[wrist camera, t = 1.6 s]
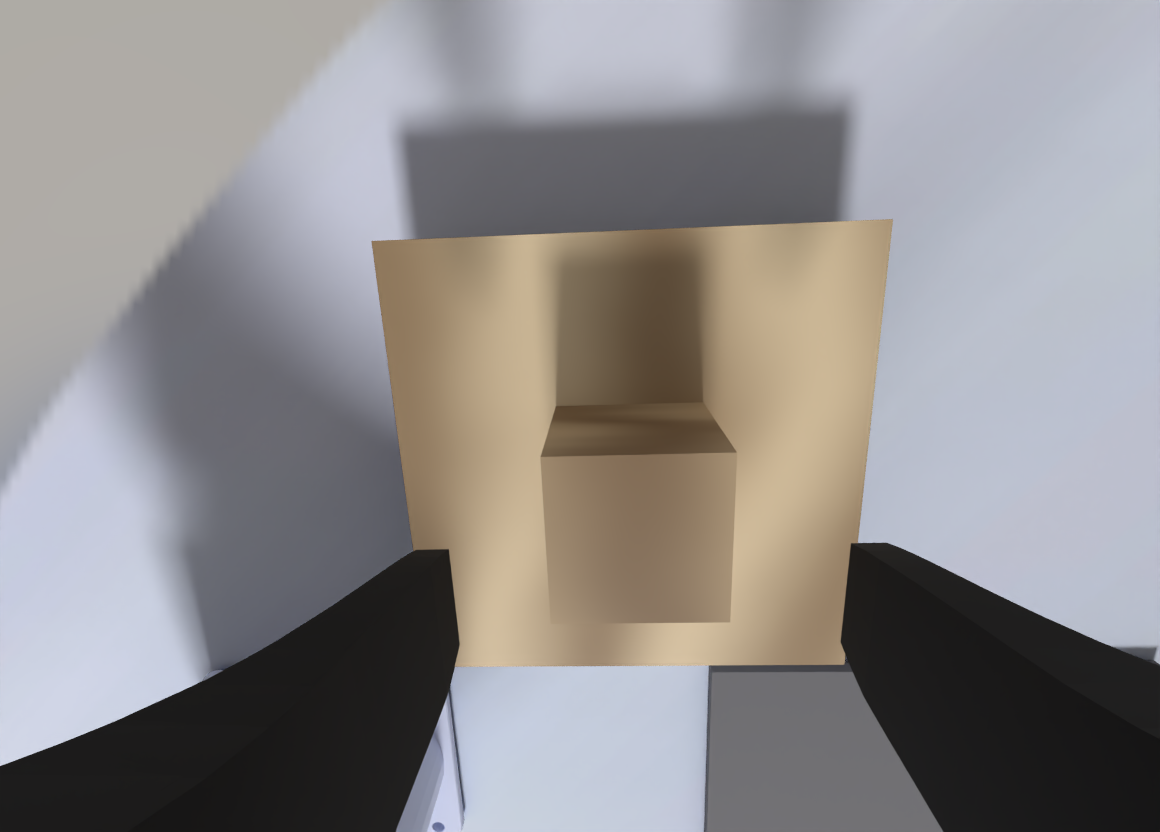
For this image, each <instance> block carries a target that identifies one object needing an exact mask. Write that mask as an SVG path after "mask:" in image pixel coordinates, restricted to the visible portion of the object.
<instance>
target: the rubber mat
mask: <svg viewBox="0 0 1160 832" xmlns="http://www.w3.org/2000/svg"><path fill="white" fill-rule="evenodd" d="M1149 662H1151V663H1154V664H1156V665H1159V664H1158V663H1157V662H1155V661H1149ZM1159 666H1160V665H1159ZM704 832H943V830H942V829H941V827H940V825H939V824H938V822H937V820H936V819H935V817H934V815H933V814H932V812H931V810H930V809H929V807H928V805H927V804H926V802H925V800H924V799H923V797H922V795H921V793H920V792H919V790H918V788H917V787H916V785H915V783H914V782H913V780H912V778H911V777H910V775H909V773H908V772H907V770H906V768H905V767H904V765H903V763H902V761H901V760H900V758H899V756H898V755H897V753H896V751H895V750H894V748H893V746H892V745H891V743H890V741H889V740H888V738H887V736H886V734H885V733H884V731H883V729H882V728H881V726H880V724H879V722H878V721H877V719H876V717H875V716H874V714H873V712H872V710H871V709H870V707H869V705H868V703H867V702H866V700H865V698H864V696H863V694H862V692H861V690H860V687H859V685H858V683H857V681H856V678H855V676H854V674H853V672H852V669H851V667H850V664H849V662H845V663H844V665H709V694H708V727H707V761H706V794H705V828H704Z"/></svg>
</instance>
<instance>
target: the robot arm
mask: <svg viewBox="0 0 1160 832" xmlns="http://www.w3.org/2000/svg"><path fill="white" fill-rule="evenodd" d="M840 642H841V645H842V647H843V650H844V652H845V655H846V657H847V659H848V662H849V664H850V667H851V669H852V672H853V674H854V676H855V678H856V681H857V683H858V685H859V687H860V690H861V692H862V694H863V696H864V698H865V700H866V702H867V703H868V705H869V707H870V709H871V710H872V712H873V714H874V716H875V717H876V719H877V721H878V722H879V724H880V726H881V728H882V729H883V731H884V733H885V734H886V736H887V738H888V740H889V741H890V743H891V745H892V746H893V748H894V750H895V751H896V753H897V755H898V756H899V758H900V760H901V761H902V763H903V765H904V767H905V768H906V770H907V772H908V773H909V775H910V777H911V778H912V780H913V782H914V783H915V785H916V787H917V788H918V790H919V792H920V793H921V795H922V797H923V799H924V800H925V802H926V804H927V805H928V807H929V809H930V810H931V812H932V814H933V815H934V817H935V819H936V820H937V822H938V824H939V825H940V827H941V829H942V830H943V832H1160V666H1159V665H1156V664H1154V663H1151V662H1149V661H1146V660H1143V659H1141V658H1138V657H1136V656H1133V655H1130V654H1128V653H1125V652H1123V651H1121V650H1118V649H1116V648H1113V647H1111V646H1108V645H1106V644H1104V643H1101V642H1099V641H1097V640H1094V639H1092V638H1090V637H1087V636H1085V635H1083V634H1081V633H1078V632H1076V631H1074V630H1072V629H1069V628H1067V627H1065V626H1063V625H1061V624H1058V623H1056V622H1054V621H1052V620H1049V619H1047V618H1045V617H1043V616H1041V615H1038V614H1036V613H1034V612H1032V611H1030V610H1028V609H1026V608H1023V607H1021V606H1019V605H1017V604H1015V603H1013V602H1011V601H1009V600H1007V599H1005V598H1003V597H1001V596H999V595H996V594H994V593H992V592H990V591H988V590H986V589H984V588H982V587H980V586H978V585H976V584H974V583H972V582H970V581H968V580H966V579H964V578H962V577H960V576H958V575H956V574H954V573H952V572H950V571H948V570H946V569H944V568H942V567H940V566H938V565H936V564H934V563H932V562H930V561H928V560H925V559H923V558H921V557H919V556H917V555H915V554H913V553H910V552H908V551H906V550H904V549H901V548H899V547H896V546H894V545H891V544H888V543H851V547H850V557H849V566H848V575H847V585H846V594H845V604H844V613H843V623H842V632H841V641H840ZM459 646H460V641H459V632H458V624H457V615H456V606H455V598H454V589H453V580H452V572H451V563H450V554H449V549H429V550H415V551H413V552H411V553H409V554H408V555H406V556H405V557H403V558H401V559H400V560H398V561H397V562H395V563H394V564H392V565H391V566H389V567H388V568H387V569H385V570H384V571H382V572H381V573H379V574H378V575H376V576H375V577H374V578H372V579H371V580H369V581H368V582H366V583H365V584H364V585H362V586H361V587H359V588H358V589H356V590H355V591H353V592H352V593H350V594H349V595H347V596H346V597H345V598H343V599H342V600H340V601H339V602H337V603H336V604H334V605H333V606H331V607H330V608H328V609H327V610H325V611H323V612H322V613H320V614H319V615H317V616H316V617H314V618H312V619H311V620H309V621H308V622H306V623H304V624H303V625H301V626H300V627H298V628H297V629H295V630H293V631H292V632H290V633H289V634H287V635H285V636H284V637H282V638H281V639H279V640H277V641H276V642H274V643H272V644H271V645H269V646H267V647H265V648H264V649H262V650H260V651H258V652H257V653H255V654H253V655H251V656H249V657H248V658H246V659H244V660H242V661H240V662H238V663H236V664H235V665H233V666H231V667H229V668H227V669H225V670H215V671H212V672H210V673H209V674H208V675H207V676H206V677H205V678H204V679H203V681H202V682H200V683H198V684H196V685H194V686H192V687H189V688H187V689H185V690H183V691H181V692H179V693H176V694H174V695H172V696H170V697H168V698H165V699H163V700H161V701H159V702H157V703H154V704H152V705H150V706H148V707H146V708H144V709H141V710H139V711H137V712H135V713H133V714H130V715H128V716H126V717H124V718H122V719H119V720H117V721H115V722H112V723H110V724H108V725H105V726H103V727H100V728H98V729H95V730H93V731H90V732H88V733H86V734H83V735H81V736H78V737H76V738H73V739H71V740H68V741H66V742H63V743H61V744H58V745H55V746H53V747H50V748H47V749H45V750H42V751H40V752H37V753H34V754H32V755H29V756H26V757H24V758H21V759H18V760H16V761H13V762H10V763H8V764H5V765H2V766H0V832H461V831H462V828H463V824H464V812H463V804H462V796H461V788H460V780H459V772H458V764H457V756H456V748H455V740H454V732H453V724H452V716H451V708H450V700H449V688H450V684H451V680H452V676H453V672H454V668H455V663H456V659H457V655H458V650H459Z"/></svg>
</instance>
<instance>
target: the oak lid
mask: <svg viewBox="0 0 1160 832" xmlns="http://www.w3.org/2000/svg"><path fill="white" fill-rule="evenodd" d="M892 223H893V219H887V220H863V221H839V222H815V223H791V224H768V225H744V226H720V227H696V228H672V229H649V230H625V231H601V232H577V233H553V234H530V235H506V236H482V237H458V238H434V239H411V240H387V241H372V248H373V255H374V263H375V270H376V278H377V285H378V292H379V300H380V307H381V315H382V322H383V330H384V337H385V344H386V352H387V359H388V367H389V374H390V382H391V389H392V396H393V404H394V411H395V419H396V426H397V433H398V441H399V448H400V456H401V463H402V471H403V478H404V485H405V493H406V500H407V508H408V515H409V523H410V530H411V537H412V545H413V551H415V550H429V549H449V554H450V563H451V572H452V580H453V589H454V598H455V606H456V615H457V624H458V632H459V641H460V646H459V650H458V655H457V659H456V663H455V667H494V666H691V665H844V663H845V652H844V650H843V647H842V645H841V642H840V641H841V632H842V623H843V613H844V604H845V594H846V585H847V575H848V566H849V557H850V547H851V543H858V535H859V526H860V517H861V507H862V498H863V489H864V480H865V471H866V461H867V452H868V443H869V434H870V425H871V416H872V406H873V397H874V388H875V379H876V370H877V361H878V351H879V342H880V333H881V324H882V315H883V306H884V296H885V287H886V278H887V269H888V260H889V251H890V241H891V232H892Z"/></svg>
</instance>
